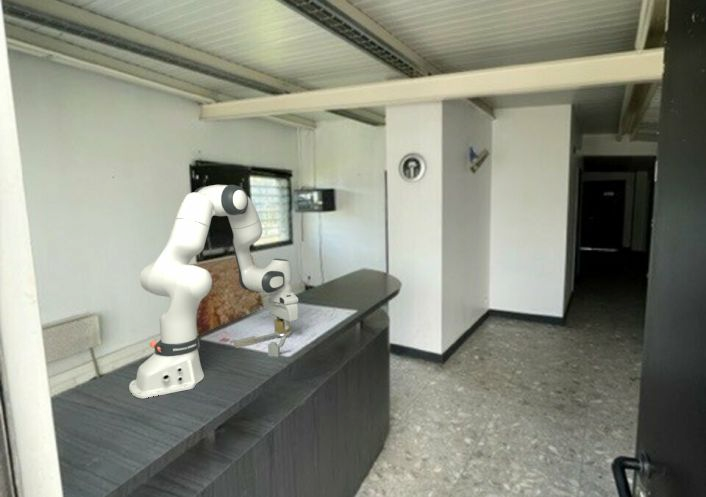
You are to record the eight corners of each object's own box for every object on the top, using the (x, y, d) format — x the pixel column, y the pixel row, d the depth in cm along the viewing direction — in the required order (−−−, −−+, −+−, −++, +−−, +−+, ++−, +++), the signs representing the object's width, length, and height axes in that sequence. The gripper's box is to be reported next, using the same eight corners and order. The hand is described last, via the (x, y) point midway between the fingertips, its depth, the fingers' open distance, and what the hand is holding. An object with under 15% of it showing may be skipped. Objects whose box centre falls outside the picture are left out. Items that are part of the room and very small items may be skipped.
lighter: (268, 355, 164) (267, 335, 163) (270, 354, 165) (269, 334, 164) (285, 357, 162) (284, 337, 161) (287, 356, 164) (286, 335, 162)
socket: (280, 333, 183) (280, 322, 182) (274, 330, 186) (274, 319, 186) (290, 331, 186) (290, 320, 185) (284, 328, 190) (284, 317, 189)
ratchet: (239, 349, 170) (238, 336, 170) (232, 344, 176) (231, 331, 175) (293, 336, 186) (293, 323, 185) (285, 332, 191) (285, 320, 191)
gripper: (263, 292, 190) (264, 322, 192) (287, 301, 174) (287, 334, 176) (276, 290, 194) (277, 320, 196) (300, 299, 178) (301, 331, 180)
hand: (282, 327), depth 186 cm, fingers closed on socket, 5 cm apart
